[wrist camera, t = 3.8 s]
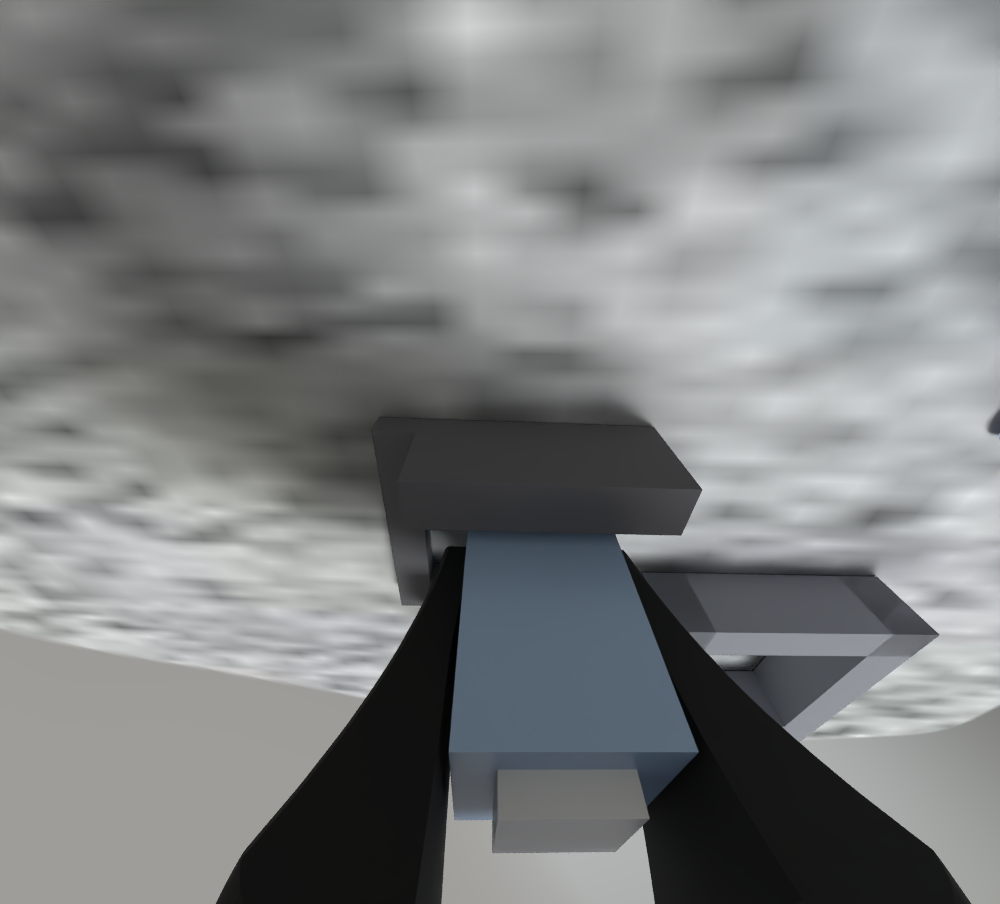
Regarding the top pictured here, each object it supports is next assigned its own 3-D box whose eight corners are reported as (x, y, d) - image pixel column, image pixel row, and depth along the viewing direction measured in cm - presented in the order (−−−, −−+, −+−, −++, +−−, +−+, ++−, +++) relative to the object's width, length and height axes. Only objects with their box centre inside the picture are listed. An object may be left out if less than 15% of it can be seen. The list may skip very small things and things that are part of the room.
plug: (472, 478, 11) (444, 805, 5) (595, 482, 12) (719, 803, 5) (471, 561, 14) (451, 862, 7) (574, 563, 14) (644, 860, 7)
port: (642, 572, 14) (673, 646, 12) (877, 576, 15) (954, 649, 12) (588, 704, 21) (601, 769, 19) (751, 704, 21) (786, 768, 19)
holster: (379, 416, 10) (343, 479, 8) (653, 426, 11) (702, 489, 8) (406, 587, 15) (388, 663, 12) (600, 590, 15) (621, 664, 13)
